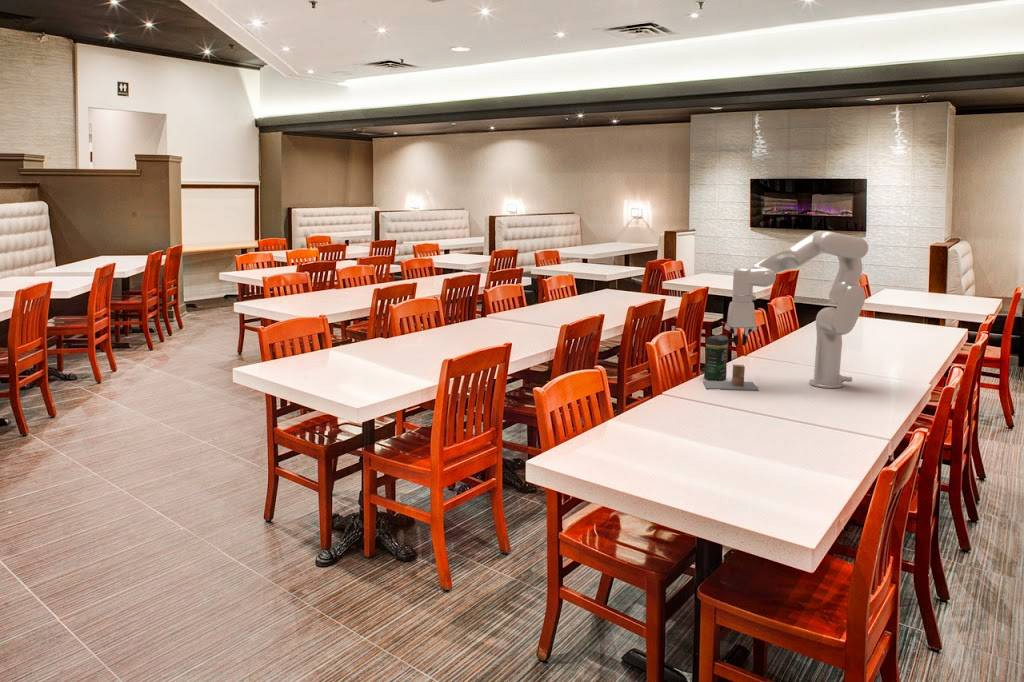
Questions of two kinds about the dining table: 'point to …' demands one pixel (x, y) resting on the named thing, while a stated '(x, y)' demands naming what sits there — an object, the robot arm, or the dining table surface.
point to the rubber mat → (730, 385)
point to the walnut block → (738, 375)
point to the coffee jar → (716, 357)
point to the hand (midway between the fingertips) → (739, 344)
